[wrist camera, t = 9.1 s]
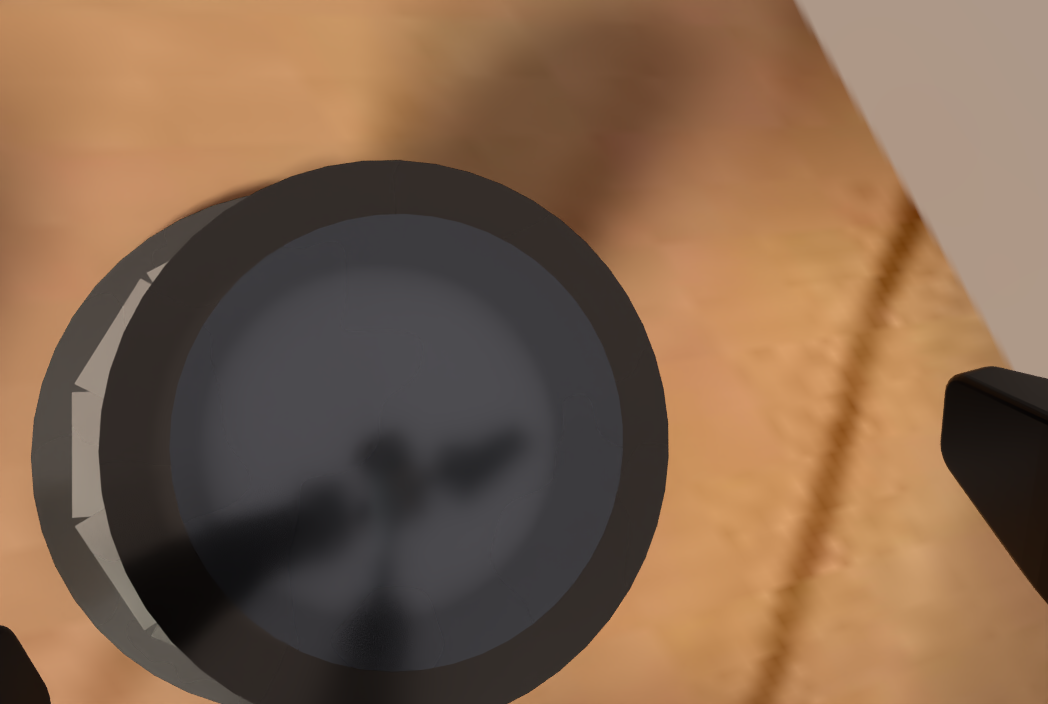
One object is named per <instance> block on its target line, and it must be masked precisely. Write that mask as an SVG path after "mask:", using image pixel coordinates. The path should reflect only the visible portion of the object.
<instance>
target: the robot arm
mask: <svg viewBox="0 0 1048 704" xmlns="http://www.w3.org/2000/svg"><path fill="white" fill-rule="evenodd" d="M941 452H942V456H943V459H944V461H945V463H946V466H947V467H948V469H949V471H950V472H951V473H952V475H953V476H954V478H955V479H956V480H957V482H958V483H959V485H960V486H961V487H962V489H963V490H964V492H965V493H966V494H967V496H968V497H969V499H970V500H971V501H972V503H973V504H974V506H975V507H976V508H977V510H978V511H979V513H980V514H981V515H982V517H983V518H984V520H985V521H986V522H987V524H988V525H989V527H990V528H991V529H992V531H993V532H994V534H995V535H996V536H997V538H998V539H999V541H1000V542H1001V543H1002V545H1003V546H1004V548H1005V549H1006V550H1007V552H1008V553H1009V555H1010V556H1011V557H1012V559H1013V560H1014V562H1015V563H1016V564H1017V566H1018V567H1019V569H1020V570H1021V571H1022V573H1023V574H1024V575H1025V576H1026V578H1027V579H1028V580H1029V582H1030V583H1031V584H1032V586H1033V587H1034V588H1035V590H1036V591H1037V592H1038V593H1039V594H1040V596H1041V597H1042V598H1043V599H1044V600H1045V602H1046V603H1047V604H1048V379H1046V378H1042V377H1037V376H1034V375H1029V374H1025V373H1021V372H1016V371H1012V370H1008V369H1004V368H1000V367H994V366H990V367H983V368H979V369H975V370H971V371H968V372H964V373H960V374H957V375H955V376H953V377H952V378H951V379H950V380H949V382H948V384H947V385H946V390H945V399H944V410H943V420H942V431H941ZM0 704H51V702H50V696H49V693H48V690H47V687H46V685H45V683H44V682H43V680H42V678H41V677H40V675H39V673H38V672H37V670H36V668H35V667H34V665H33V663H32V662H31V660H30V658H29V657H28V655H27V653H26V652H25V650H24V649H23V647H22V645H21V644H20V642H19V640H18V639H17V637H16V636H15V634H14V633H13V632H12V631H11V630H10V629H9V628H7V627H5V626H1V625H0Z"/></svg>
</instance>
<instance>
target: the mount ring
mask: <svg viewBox="0 0 1048 704" xmlns="http://www.w3.org/2000/svg"><path fill="white" fill-rule="evenodd" d="M247 197H248V196H245V197H242V198H238V199H235V200H231V201H228V202H224V203H221V204H217V205H214V206H211V207H209V208H206V209H204V210H202V211H199V212H197V213H195V214H192V215H190V216H188V217H185V218H183V219H181V220H179V221H177V222H175V223H174V224H172V225H170V226H169V227H167V228H165V229H164V230H162V231H160V232H159V233H157V234H155V235H154V236H152V237H150V238H149V239H147V240H146V241H145V242H144V243H142V244H141V245H140V246H138V247H137V248H136V249H135V250H133V251H132V252H131V253H130V254H128V255H127V256H126V257H124V258H123V259H122V260H121V261H120V262H119V263H118V264H117V265H116V266H115V267H114V268H113V269H112V270H111V271H110V272H109V273H108V274H107V275H106V276H105V277H104V278H103V279H102V280H101V281H100V282H99V283H98V284H97V285H96V286H95V287H94V289H93V290H92V291H91V293H90V294H89V295H88V297H87V298H86V300H85V301H84V302H83V304H82V305H81V306H80V308H79V309H78V310H77V312H76V313H75V314H74V316H73V317H72V319H71V321H70V323H69V325H68V326H67V328H66V330H65V332H64V334H63V336H62V337H61V339H60V341H59V343H58V345H57V347H56V348H55V351H54V353H53V356H52V359H51V361H50V364H49V367H48V369H47V372H46V375H45V377H44V380H43V382H42V386H41V391H40V395H39V399H38V404H37V408H36V413H35V417H34V425H33V439H32V452H31V463H32V477H33V491H34V498H35V503H36V507H37V512H38V516H39V521H40V525H41V530H42V533H43V536H44V538H45V541H46V543H47V546H48V549H49V551H50V554H51V556H52V559H53V562H54V564H55V567H56V568H57V570H58V572H59V574H60V575H61V577H62V579H63V581H64V582H65V584H66V586H67V588H68V590H69V591H70V593H71V595H72V597H73V598H74V600H75V601H76V602H77V604H78V605H79V606H80V607H81V609H82V610H83V611H84V612H85V614H86V615H87V616H88V618H89V619H90V620H91V621H92V623H93V624H94V625H95V627H96V628H97V629H98V630H99V631H100V632H101V633H102V634H103V635H104V636H106V637H107V638H108V639H109V640H110V641H111V642H112V643H113V644H114V645H115V646H116V647H117V648H118V649H119V650H120V651H121V652H122V653H123V654H125V655H126V656H128V657H129V658H130V659H132V660H133V661H135V662H136V663H138V664H139V665H140V666H142V667H143V668H145V669H146V670H147V671H149V672H150V673H152V674H153V675H155V676H157V677H159V678H161V679H163V680H164V681H166V682H168V683H170V684H172V685H174V686H176V687H178V688H180V689H182V690H184V691H186V692H188V693H191V694H194V695H197V696H200V697H203V698H206V699H209V700H212V701H215V702H218V703H221V704H253V703H251V702H249V701H247V700H245V699H243V698H242V697H240V696H238V695H236V694H234V693H232V692H231V691H230V690H228V689H227V688H225V687H224V686H223V685H221V684H220V683H218V682H217V681H216V680H214V679H213V678H211V677H210V676H209V675H207V674H206V673H204V672H203V671H202V670H200V669H199V668H198V667H197V666H196V665H195V664H194V663H193V662H192V661H191V660H190V659H189V658H188V657H187V656H186V655H185V654H184V653H183V652H182V651H180V650H179V649H178V648H177V647H176V646H175V645H174V644H173V643H172V642H171V641H170V639H169V638H168V637H167V636H166V634H165V633H164V632H163V630H162V629H161V628H160V627H159V625H158V624H157V623H156V621H155V620H154V619H153V617H152V616H151V615H150V614H149V612H148V611H147V610H146V608H145V607H144V605H143V603H142V601H141V599H140V598H139V596H138V594H137V592H136V591H135V589H134V587H133V585H132V583H131V582H130V580H129V578H128V576H127V575H126V573H125V570H124V568H123V565H122V562H121V560H120V557H119V555H118V552H117V549H116V547H115V544H114V542H113V539H112V536H111V533H110V529H109V525H108V520H107V516H106V511H105V507H104V502H103V498H102V493H101V480H100V467H99V455H98V450H99V435H100V420H101V409H102V404H103V399H104V395H105V390H106V385H107V381H108V376H109V371H110V368H111V365H112V363H113V360H114V357H115V354H116V352H117V349H118V346H119V343H120V341H121V338H122V335H123V332H124V331H125V329H126V327H127V325H128V323H129V321H130V319H131V317H132V315H133V314H134V312H135V310H136V308H137V306H138V304H139V302H140V300H141V299H142V297H143V295H144V294H145V293H146V291H147V290H148V288H149V287H150V286H151V284H152V283H153V281H154V280H155V279H156V277H157V276H158V275H159V273H160V272H161V270H162V269H163V268H164V266H165V265H166V264H167V263H168V262H169V260H170V259H171V258H172V257H173V256H174V255H175V254H176V253H177V252H178V251H179V250H180V249H181V248H182V247H183V246H184V245H185V244H186V243H187V242H188V241H189V240H190V238H191V237H192V236H193V235H195V234H196V233H197V232H198V231H200V230H201V229H202V228H203V227H205V226H206V225H207V224H208V223H210V222H211V221H212V220H213V219H215V218H216V217H217V216H218V215H220V214H221V213H222V212H223V211H225V210H227V209H228V208H230V207H232V206H233V205H235V204H237V203H238V202H240V201H242V200H243V199H245V198H247Z"/></svg>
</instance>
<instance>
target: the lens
mask: <svg viewBox="0 0 1048 704" xmlns="http://www.w3.org/2000/svg"><path fill="white" fill-rule="evenodd" d="M98 455H99V467H100V480H101V493H102V498H103V502H104V507H105V511H106V516H107V520H108V525H109V529H110V533H111V536H112V539H113V542H114V544H115V547H116V549H117V552H118V555H119V557H120V560H121V562H122V565H123V568H124V570H125V573H126V575H127V576H128V578H129V580H130V582H131V583H132V585H133V587H134V589H135V591H136V592H137V594H138V596H139V598H140V599H141V601H142V603H143V605H144V607H145V608H146V610H147V611H148V612H149V614H150V615H151V616H152V617H153V619H154V620H155V621H156V623H157V624H158V625H159V627H160V628H161V629H162V630H163V632H164V633H165V634H166V636H167V637H168V638H169V639H170V641H171V642H172V643H173V644H174V645H175V646H176V647H177V648H178V649H179V650H180V651H182V652H183V653H184V654H185V655H186V656H187V657H188V658H189V659H190V660H191V661H192V662H193V663H194V664H195V665H196V666H197V667H198V668H199V669H200V670H202V671H203V672H204V673H206V674H207V675H209V676H210V677H211V678H213V679H214V680H216V681H217V682H218V683H220V684H221V685H223V686H224V687H225V688H227V689H228V690H230V691H231V692H232V693H234V694H236V695H238V696H240V697H242V698H243V699H245V700H247V701H249V702H251V703H253V704H508V703H510V702H512V701H514V700H516V699H517V698H519V697H521V696H523V695H525V694H527V693H529V692H530V691H532V690H533V689H535V688H536V687H538V686H539V685H540V684H542V683H543V682H545V681H546V680H547V679H549V678H550V677H552V676H553V675H555V674H556V673H557V672H559V671H560V670H561V669H562V668H563V667H565V666H566V665H567V664H568V663H569V662H570V661H571V660H572V659H573V658H574V657H576V656H577V655H578V654H579V653H580V652H581V651H582V650H583V649H584V648H585V647H586V646H587V645H588V644H589V643H590V642H591V641H592V639H593V638H594V637H595V636H596V635H597V634H598V632H599V631H600V630H601V629H602V628H603V627H604V625H605V624H606V623H607V622H608V621H609V620H610V618H611V617H612V615H613V614H614V612H615V611H616V609H617V608H618V606H619V605H620V603H621V602H622V600H623V599H624V597H625V596H626V594H627V593H628V591H629V590H630V588H631V586H632V584H633V582H634V580H635V578H636V576H637V574H638V572H639V570H640V568H641V566H642V564H643V562H644V560H645V558H646V555H647V552H648V549H649V546H650V544H651V541H652V538H653V535H654V532H655V530H656V527H657V523H658V519H659V515H660V510H661V506H662V501H663V497H664V493H665V485H666V476H667V466H668V419H667V411H666V404H665V396H664V389H663V385H662V381H661V377H660V373H659V369H658V365H657V361H656V357H655V354H654V352H653V349H652V347H651V344H650V341H649V339H648V336H647V334H646V331H645V328H644V326H643V324H642V322H641V320H640V318H639V316H638V314H637V312H636V310H635V309H634V307H633V305H632V303H631V301H630V299H629V297H628V295H627V294H626V292H625V291H624V290H623V288H622V287H621V285H620V284H619V282H618V281H617V279H616V278H615V276H614V275H613V274H612V272H611V271H610V269H609V268H608V267H607V265H606V264H605V263H604V262H603V261H602V260H601V259H600V258H599V256H598V255H597V254H596V253H595V252H594V251H593V250H592V249H591V247H590V246H589V245H588V244H587V243H586V242H585V241H584V240H583V239H582V238H581V237H579V236H578V235H577V234H576V233H575V232H574V231H573V230H572V229H570V228H569V227H568V226H567V225H566V224H565V223H564V222H563V221H561V220H560V219H559V218H557V217H556V216H554V215H553V214H552V213H550V212H549V211H547V210H546V209H544V208H543V207H541V206H540V205H538V204H537V203H536V202H534V201H533V200H531V199H529V198H527V197H525V196H523V195H521V194H519V193H517V192H516V191H514V190H512V189H510V188H508V187H506V186H504V185H502V184H500V183H497V182H494V181H492V180H489V179H486V178H484V177H481V176H478V175H476V174H473V173H470V172H466V171H462V170H458V169H454V168H450V167H445V166H441V165H437V164H430V163H421V162H412V161H402V160H385V161H360V162H353V163H346V164H339V165H333V166H327V167H323V168H320V169H316V170H313V171H309V172H305V173H302V174H298V175H295V176H291V177H289V178H287V179H284V180H282V181H280V182H278V183H275V184H273V185H271V186H268V187H266V188H264V189H261V190H259V191H257V192H255V193H253V194H252V195H250V196H248V197H247V198H245V199H243V200H242V201H240V202H238V203H237V204H235V205H233V206H232V207H230V208H228V209H227V210H225V211H223V212H222V213H221V214H220V215H218V216H217V217H216V218H215V219H213V220H212V221H211V222H210V223H208V224H207V225H206V226H205V227H203V228H202V229H201V230H200V231H198V232H197V233H196V234H195V235H193V236H192V237H191V238H190V240H189V241H188V242H187V243H186V244H185V245H184V246H183V247H182V248H181V249H180V250H179V251H178V252H177V253H176V254H175V255H174V256H173V257H172V258H171V259H170V260H169V262H168V263H167V264H166V265H165V266H164V268H163V269H162V270H161V272H160V273H159V275H158V276H157V277H156V279H155V280H154V281H153V283H152V284H151V286H150V287H149V288H148V290H147V291H146V293H145V294H144V295H143V297H142V299H141V300H140V302H139V304H138V306H137V308H136V310H135V312H134V314H133V315H132V317H131V319H130V321H129V323H128V325H127V327H126V329H125V331H124V332H123V335H122V338H121V341H120V343H119V346H118V349H117V352H116V354H115V357H114V360H113V363H112V365H111V368H110V371H109V376H108V381H107V385H106V390H105V395H104V399H103V404H102V409H101V420H100V435H99V450H98Z"/></svg>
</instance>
